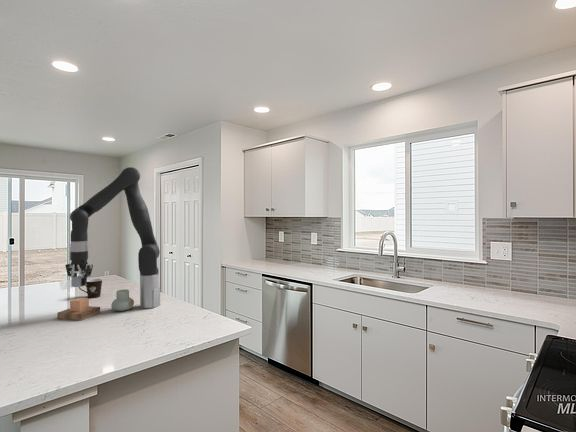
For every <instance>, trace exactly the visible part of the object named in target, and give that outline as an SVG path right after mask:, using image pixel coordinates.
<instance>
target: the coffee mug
mask: <svg viewBox="0 0 576 432" xmlns="http://www.w3.org/2000/svg"><path fill="white" fill-rule="evenodd" d="M102 285H103V278H93V279H87V285H85V287H86V290H84V289H82V288H81V287H78V289H79V290H81V291H82V292H84V293H86V294H87V298H89V299H97V298H100V297H101V294H102Z"/></svg>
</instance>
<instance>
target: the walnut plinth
mask: <svg viewBox="0 0 576 432" xmlns="http://www.w3.org/2000/svg"><path fill="white" fill-rule="evenodd" d="M98 314H101V306H92V305H89V308H88V309H86V310H83V311H80V312H77V311H70V308H67V309H64V310H61V311H59V312H57V315H56V316H57V318H56V319H57V320H68V321H69V320H70V321H84V320H85V319H89V318H91V317H93V316H96V315H98Z"/></svg>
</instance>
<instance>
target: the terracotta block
mask: <svg viewBox="0 0 576 432" xmlns="http://www.w3.org/2000/svg"><path fill="white" fill-rule="evenodd" d="M89 299H90V298H88V297H87V298H86V297H76V298H75V299H72V300H71V299H70V300H69V309H70V311H77V312H80V311H83V310H86V309H88V308H89V306H90V303H89Z"/></svg>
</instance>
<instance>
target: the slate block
mask: <svg viewBox="0 0 576 432" xmlns="http://www.w3.org/2000/svg"><path fill="white" fill-rule="evenodd" d="M70 278H71V279H70V280H71V282H70V283H71V288H79V287H80V288H81V287H84V286H85V285H84V286H82V285H81V278H82V277H81V275H77V276H75V277H70ZM86 285H87V284H86ZM85 287H86V286H85Z"/></svg>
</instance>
